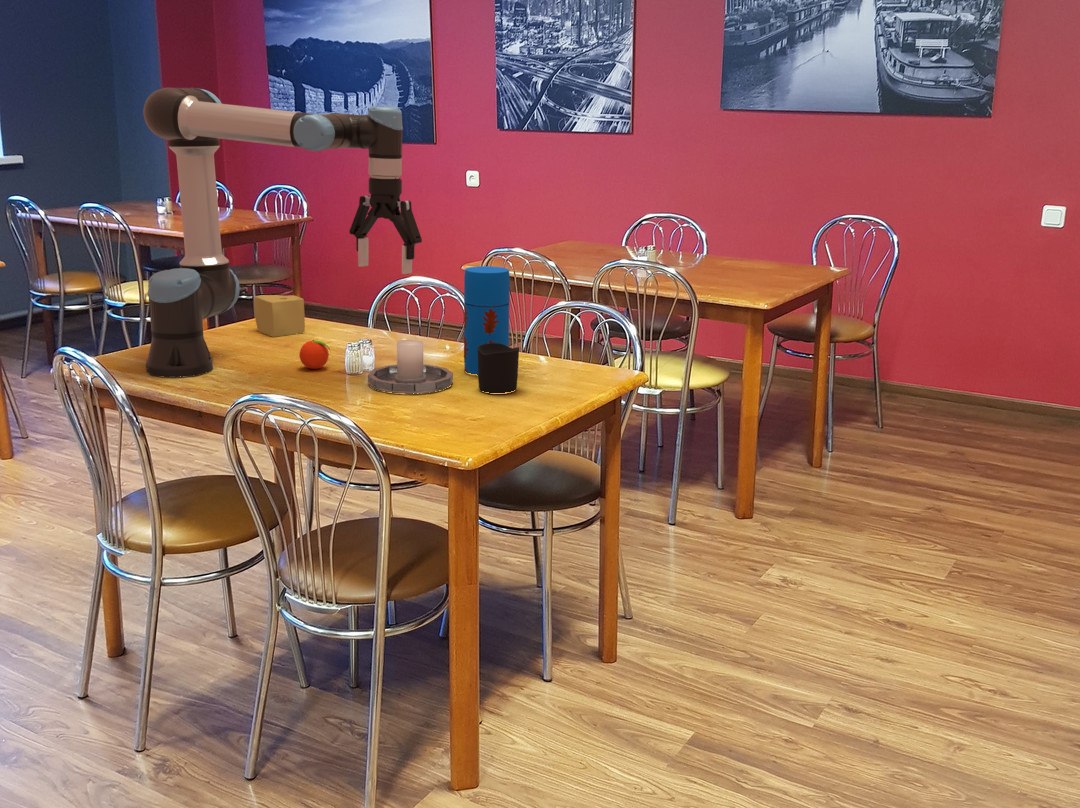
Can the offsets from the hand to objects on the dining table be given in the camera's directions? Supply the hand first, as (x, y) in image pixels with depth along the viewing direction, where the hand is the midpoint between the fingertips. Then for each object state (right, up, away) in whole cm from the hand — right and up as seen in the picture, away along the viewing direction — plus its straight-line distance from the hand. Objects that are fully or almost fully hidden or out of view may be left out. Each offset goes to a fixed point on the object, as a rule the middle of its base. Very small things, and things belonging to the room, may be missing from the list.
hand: (384, 269), depth 257 cm
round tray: (+6, -27, -2) cm, 27 cm away
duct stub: (+6, -26, -2) cm, 27 cm away
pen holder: (+27, -28, -5) cm, 39 cm away
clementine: (-18, -23, +10) cm, 31 cm away
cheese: (-36, -12, +49) cm, 62 cm away
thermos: (+23, -24, +11) cm, 35 cm away
